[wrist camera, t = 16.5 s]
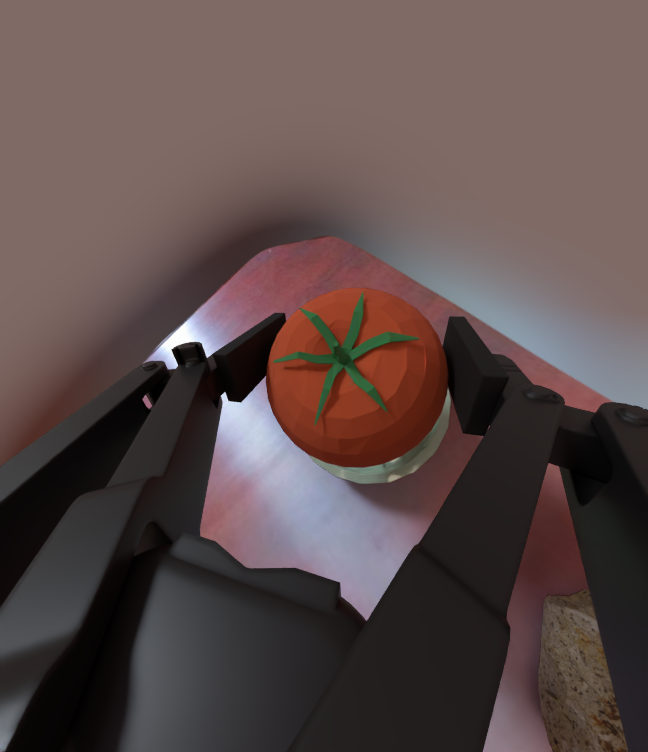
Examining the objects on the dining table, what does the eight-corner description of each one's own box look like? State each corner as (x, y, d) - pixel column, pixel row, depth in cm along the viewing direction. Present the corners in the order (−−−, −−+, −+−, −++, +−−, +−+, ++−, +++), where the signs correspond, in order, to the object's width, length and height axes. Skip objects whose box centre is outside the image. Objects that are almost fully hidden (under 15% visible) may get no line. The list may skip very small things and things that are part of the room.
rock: (525, 730, 18) (569, 822, 14) (520, 566, 20) (557, 601, 16) (659, 785, 16) (758, 911, 12) (636, 595, 18) (713, 644, 14)
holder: (471, 407, 24) (490, 402, 20) (364, 507, 24) (360, 522, 20) (368, 318, 29) (365, 299, 25) (280, 401, 29) (262, 395, 25)
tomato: (444, 452, 16) (536, 478, 6) (303, 464, 18) (216, 498, 8) (413, 319, 19) (446, 201, 9) (294, 343, 21) (221, 267, 11)
